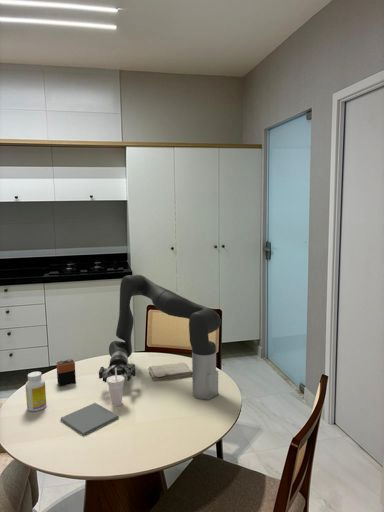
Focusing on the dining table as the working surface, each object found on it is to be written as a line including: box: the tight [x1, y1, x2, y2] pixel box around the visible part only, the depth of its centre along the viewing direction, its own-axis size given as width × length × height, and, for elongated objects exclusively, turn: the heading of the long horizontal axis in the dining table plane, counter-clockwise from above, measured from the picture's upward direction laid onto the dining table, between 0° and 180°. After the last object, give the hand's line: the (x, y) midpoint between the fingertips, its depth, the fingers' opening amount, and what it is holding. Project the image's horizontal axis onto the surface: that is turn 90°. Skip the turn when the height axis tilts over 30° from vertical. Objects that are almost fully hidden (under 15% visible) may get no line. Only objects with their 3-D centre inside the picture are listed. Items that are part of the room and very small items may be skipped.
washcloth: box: [147, 362, 192, 382], centre depth 173 cm, size 12×18×3 cm, turn 107°
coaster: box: [60, 402, 119, 437], centre depth 136 cm, size 14×14×1 cm
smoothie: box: [106, 368, 125, 407], centre depth 146 cm, size 6×6×14 cm
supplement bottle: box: [25, 371, 47, 412], centre depth 144 cm, size 7×7×13 cm
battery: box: [56, 358, 77, 387], centre depth 164 cm, size 4×7×10 cm, turn 118°
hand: (116, 379), depth 150 cm, fingers open, 8 cm apart
